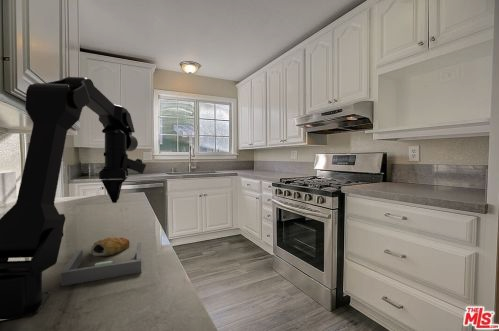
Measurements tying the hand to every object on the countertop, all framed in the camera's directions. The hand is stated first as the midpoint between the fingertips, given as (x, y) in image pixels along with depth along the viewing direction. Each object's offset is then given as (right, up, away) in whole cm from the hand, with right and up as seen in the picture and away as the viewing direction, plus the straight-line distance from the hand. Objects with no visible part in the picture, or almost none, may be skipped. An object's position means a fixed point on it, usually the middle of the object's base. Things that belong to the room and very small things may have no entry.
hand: (115, 201), depth 72 cm
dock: (+8, -12, -17) cm, 23 cm away
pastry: (+3, -13, -8) cm, 15 cm away
